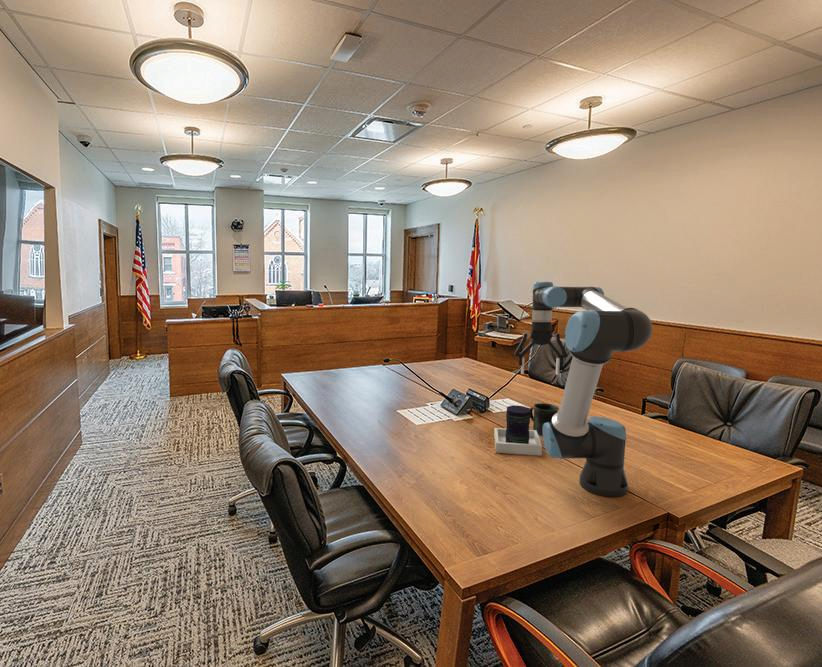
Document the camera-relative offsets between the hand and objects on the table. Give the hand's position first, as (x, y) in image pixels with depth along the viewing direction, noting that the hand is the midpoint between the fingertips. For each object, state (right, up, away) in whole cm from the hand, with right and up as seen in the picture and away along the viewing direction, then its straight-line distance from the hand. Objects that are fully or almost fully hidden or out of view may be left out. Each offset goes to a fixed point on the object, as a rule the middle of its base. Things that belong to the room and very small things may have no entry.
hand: (539, 374), depth 174 cm
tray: (-7, -31, +10) cm, 33 cm away
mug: (+9, -29, +27) cm, 41 cm away
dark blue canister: (-7, -30, +10) cm, 32 cm away
